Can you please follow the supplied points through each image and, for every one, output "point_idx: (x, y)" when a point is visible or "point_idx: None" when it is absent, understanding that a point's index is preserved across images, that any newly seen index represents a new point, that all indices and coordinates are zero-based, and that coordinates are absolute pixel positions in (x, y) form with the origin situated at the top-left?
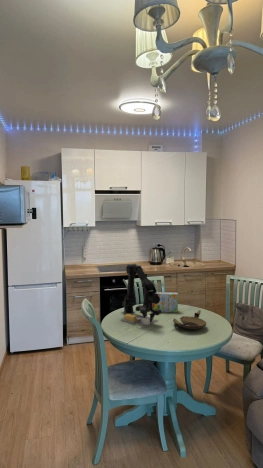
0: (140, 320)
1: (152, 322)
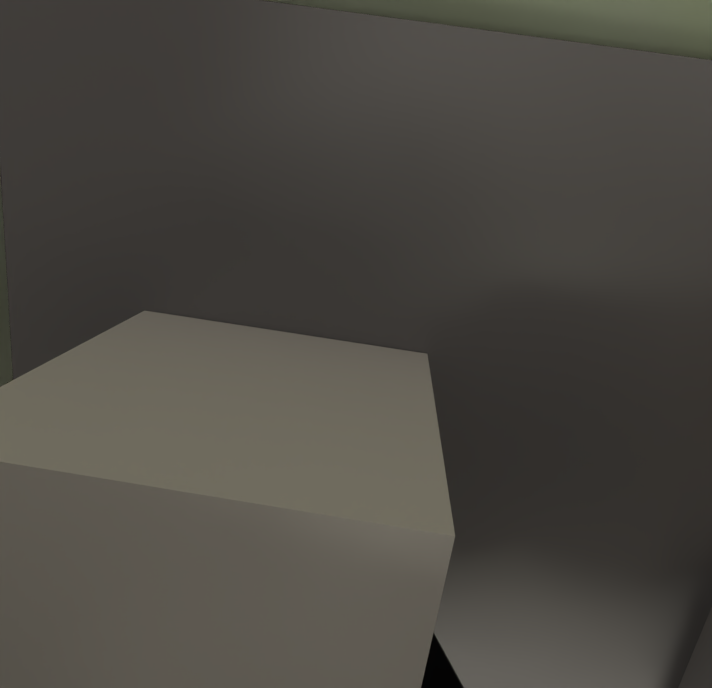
0: (689, 668)
1: None
